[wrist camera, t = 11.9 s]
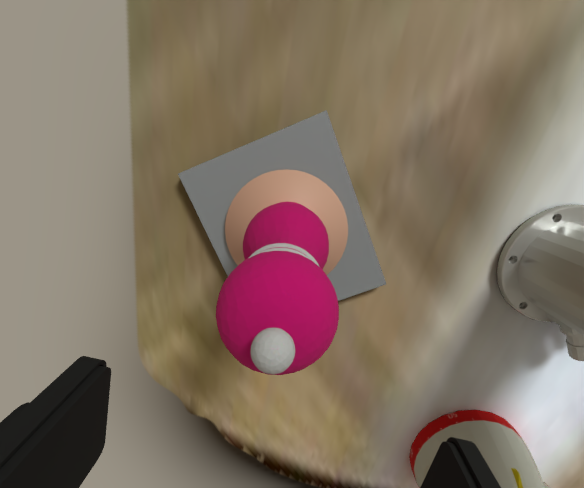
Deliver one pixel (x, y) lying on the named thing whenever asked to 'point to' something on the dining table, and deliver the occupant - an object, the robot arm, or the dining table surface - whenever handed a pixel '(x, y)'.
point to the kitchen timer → (479, 447)
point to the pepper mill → (280, 293)
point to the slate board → (287, 198)
